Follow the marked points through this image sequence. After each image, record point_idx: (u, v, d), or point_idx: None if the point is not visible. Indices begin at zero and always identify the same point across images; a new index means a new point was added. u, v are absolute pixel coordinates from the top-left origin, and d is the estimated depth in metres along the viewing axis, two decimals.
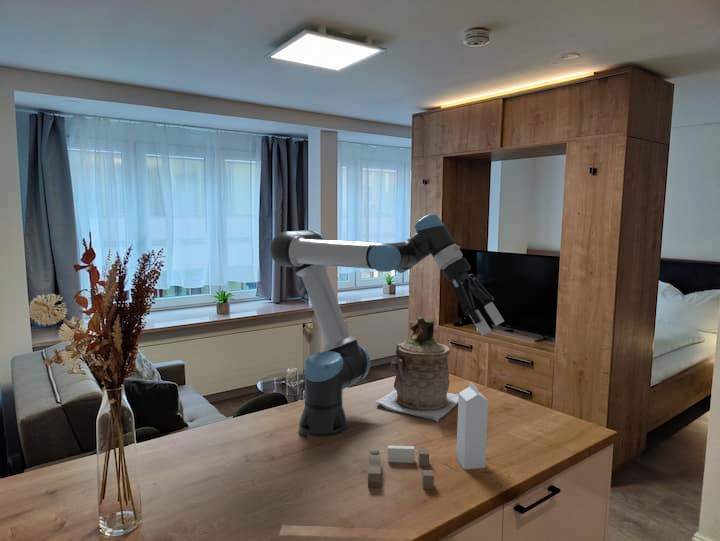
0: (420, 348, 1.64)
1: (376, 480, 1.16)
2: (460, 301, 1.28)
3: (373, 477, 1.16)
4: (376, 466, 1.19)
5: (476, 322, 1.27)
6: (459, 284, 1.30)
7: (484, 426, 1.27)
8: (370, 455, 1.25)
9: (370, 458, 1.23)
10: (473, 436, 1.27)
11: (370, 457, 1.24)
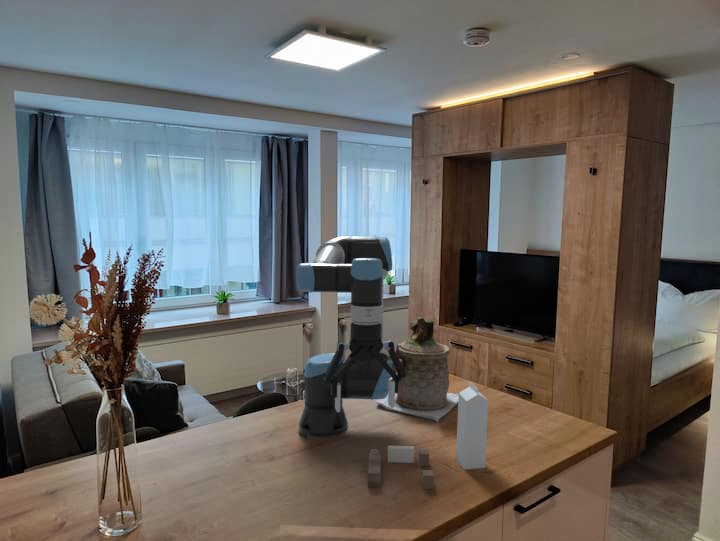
0: (420, 348, 1.64)
1: (376, 480, 1.16)
2: (329, 366, 1.16)
3: (373, 477, 1.16)
4: (376, 466, 1.19)
5: (331, 395, 1.16)
6: (338, 351, 1.15)
7: (484, 426, 1.27)
8: (370, 455, 1.25)
9: (370, 458, 1.23)
10: (473, 436, 1.27)
11: (370, 457, 1.24)
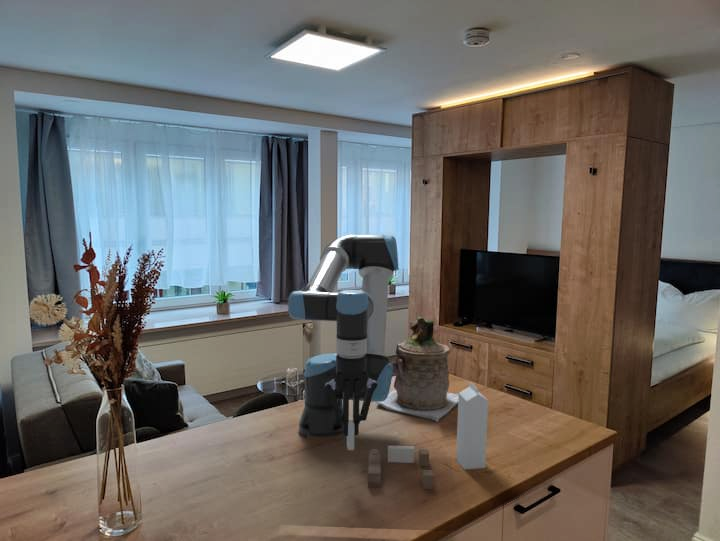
0: (420, 348, 1.64)
1: (376, 480, 1.16)
2: None
3: (373, 477, 1.16)
4: (376, 466, 1.19)
5: None
6: (329, 392, 1.16)
7: (484, 426, 1.27)
8: (370, 455, 1.25)
9: (370, 458, 1.23)
10: (473, 436, 1.27)
11: (370, 457, 1.24)
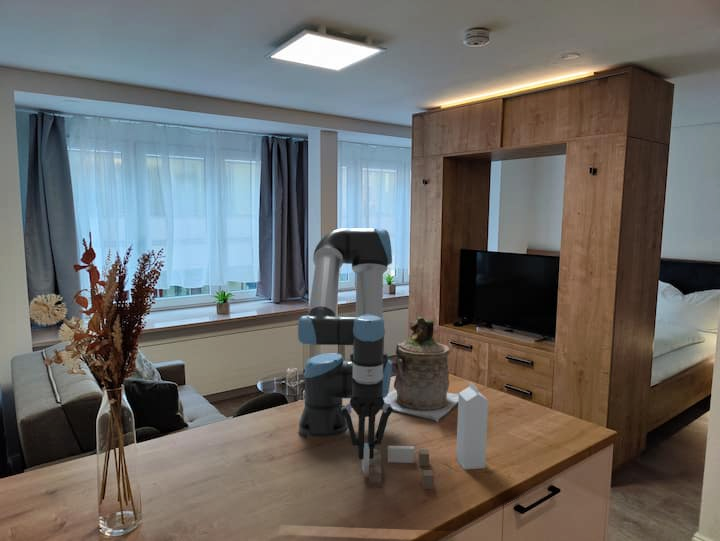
0: (420, 348, 1.64)
1: (377, 480, 1.16)
2: None
3: (374, 477, 1.16)
4: (376, 466, 1.19)
5: None
6: (345, 416, 1.18)
7: (484, 426, 1.27)
8: None
9: None
10: (473, 436, 1.27)
11: None
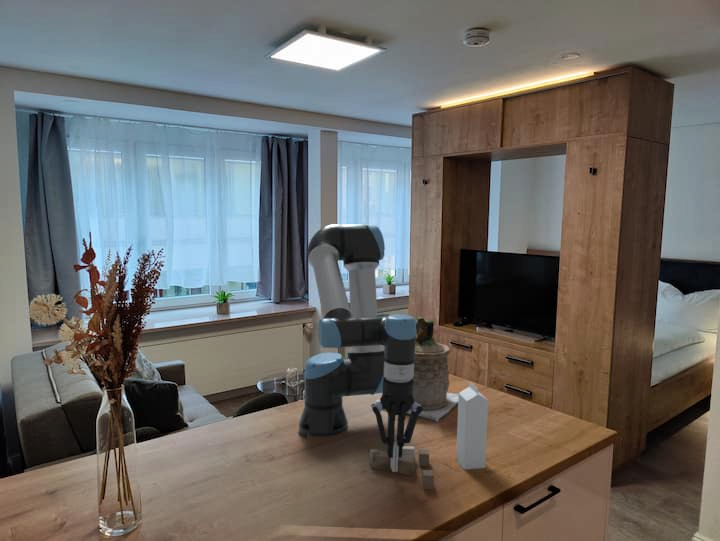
0: (420, 348, 1.64)
1: (414, 465, 1.24)
2: (378, 428, 1.21)
3: (413, 463, 1.23)
4: None
5: None
6: (375, 414, 1.19)
7: (484, 426, 1.27)
8: (379, 455, 1.25)
9: (385, 456, 1.24)
10: (473, 436, 1.27)
11: (383, 456, 1.24)
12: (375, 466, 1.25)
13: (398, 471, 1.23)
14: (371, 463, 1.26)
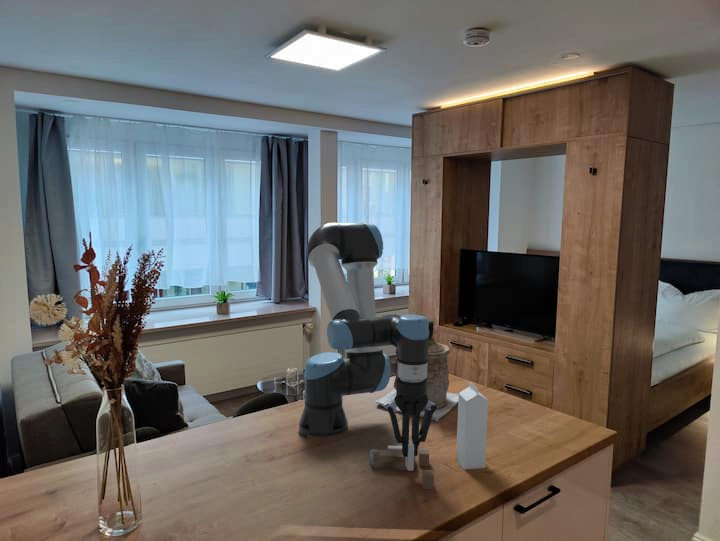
0: None
1: None
2: (393, 428, 1.22)
3: None
4: (401, 453, 1.26)
5: (402, 453, 1.22)
6: (390, 414, 1.19)
7: (484, 426, 1.27)
8: (381, 454, 1.25)
9: (387, 455, 1.25)
10: (473, 436, 1.27)
11: (385, 454, 1.25)
12: (377, 466, 1.25)
13: (400, 468, 1.25)
14: (372, 463, 1.26)
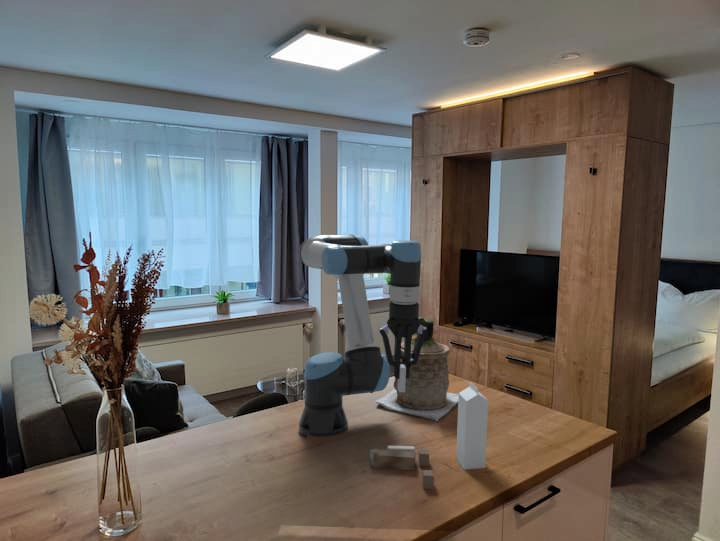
0: None
1: None
2: (385, 351, 1.25)
3: None
4: (401, 453, 1.26)
5: None
6: (382, 336, 1.23)
7: (484, 426, 1.27)
8: (381, 454, 1.25)
9: (387, 455, 1.25)
10: (473, 436, 1.27)
11: (385, 454, 1.25)
12: (377, 466, 1.25)
13: (400, 468, 1.25)
14: (372, 463, 1.26)
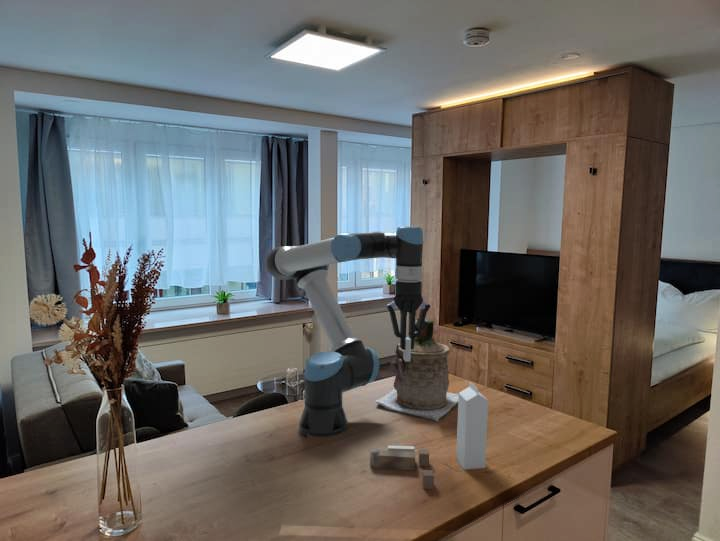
0: (420, 348, 1.64)
1: None
2: (392, 325, 1.41)
3: None
4: (401, 453, 1.26)
5: None
6: (390, 311, 1.38)
7: (484, 426, 1.27)
8: (381, 454, 1.25)
9: (387, 455, 1.25)
10: (473, 436, 1.27)
11: (385, 454, 1.25)
12: (377, 466, 1.25)
13: (400, 468, 1.25)
14: (372, 463, 1.26)
